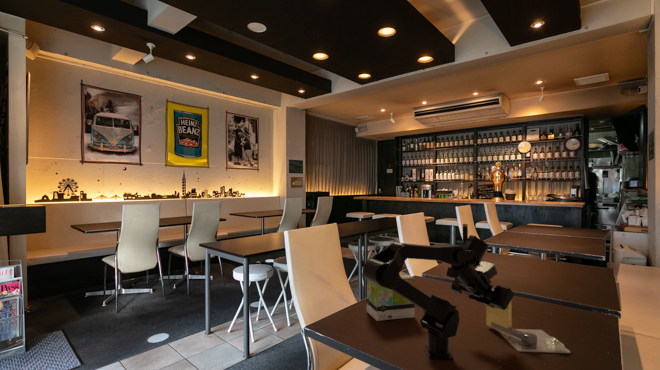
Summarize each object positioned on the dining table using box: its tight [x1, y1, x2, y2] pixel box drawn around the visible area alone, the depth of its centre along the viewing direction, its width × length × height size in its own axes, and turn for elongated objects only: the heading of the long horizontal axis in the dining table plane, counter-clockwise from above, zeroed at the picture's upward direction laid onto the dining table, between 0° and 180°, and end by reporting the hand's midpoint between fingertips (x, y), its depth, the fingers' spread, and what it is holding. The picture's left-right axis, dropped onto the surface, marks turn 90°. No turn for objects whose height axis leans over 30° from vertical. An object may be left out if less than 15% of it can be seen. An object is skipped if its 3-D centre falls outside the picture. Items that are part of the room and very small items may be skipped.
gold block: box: [485, 300, 537, 345], centre depth 101 cm, size 16×4×11 cm, turn 25°
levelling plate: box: [496, 328, 571, 354], centre depth 98 cm, size 14×14×3 cm
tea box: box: [366, 271, 416, 322], centre depth 119 cm, size 15×10×15 cm, turn 106°
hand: (493, 306), depth 101 cm, fingers closed
